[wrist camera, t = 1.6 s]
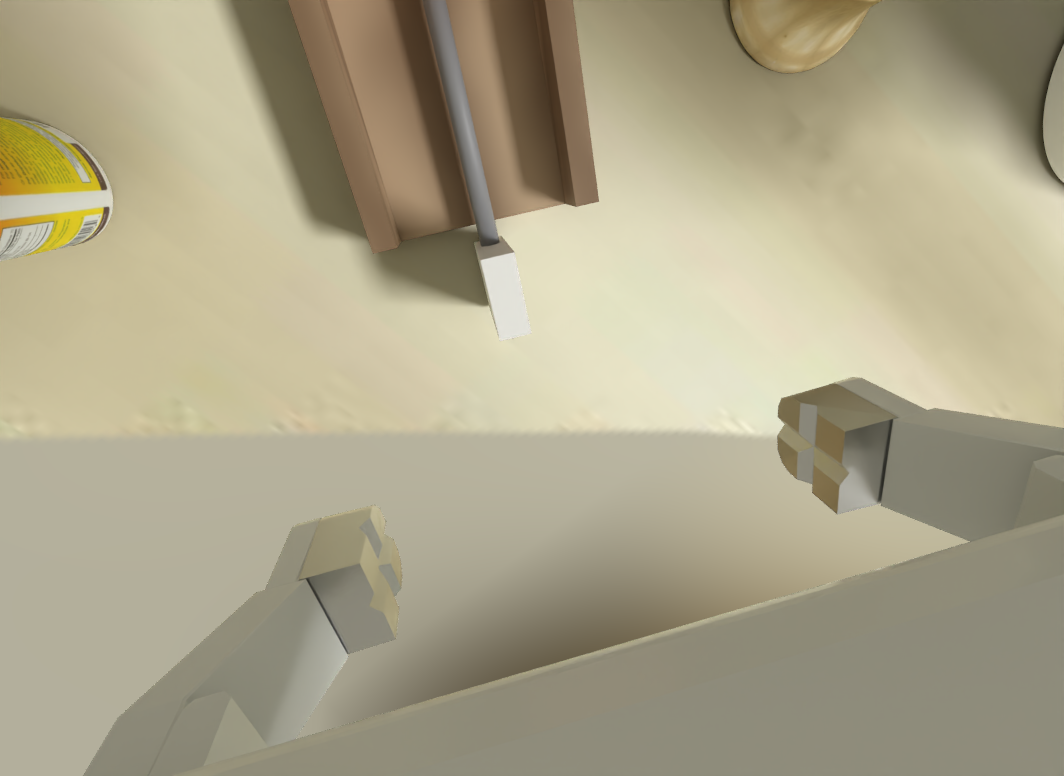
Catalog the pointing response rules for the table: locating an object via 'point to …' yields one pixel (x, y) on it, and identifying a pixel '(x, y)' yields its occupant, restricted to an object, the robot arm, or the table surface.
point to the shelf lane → (423, 117)
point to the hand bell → (796, 30)
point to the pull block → (478, 186)
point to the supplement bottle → (48, 190)
